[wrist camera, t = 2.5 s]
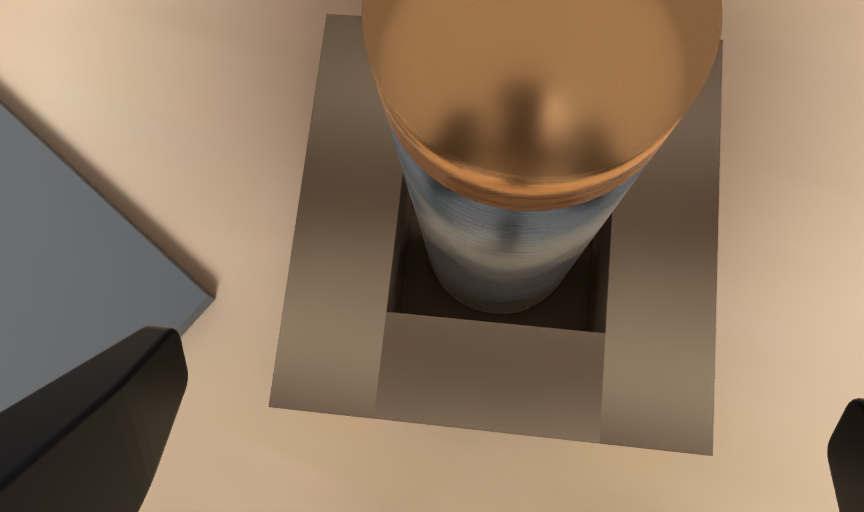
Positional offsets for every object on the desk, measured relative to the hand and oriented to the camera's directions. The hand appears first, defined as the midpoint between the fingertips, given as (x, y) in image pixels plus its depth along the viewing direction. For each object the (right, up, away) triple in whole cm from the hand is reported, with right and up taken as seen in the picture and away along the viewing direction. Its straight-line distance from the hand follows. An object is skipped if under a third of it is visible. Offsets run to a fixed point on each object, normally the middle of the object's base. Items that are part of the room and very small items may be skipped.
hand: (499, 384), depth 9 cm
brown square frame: (+1, +2, +12) cm, 12 cm away
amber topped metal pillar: (+1, +2, +12) cm, 12 cm away
